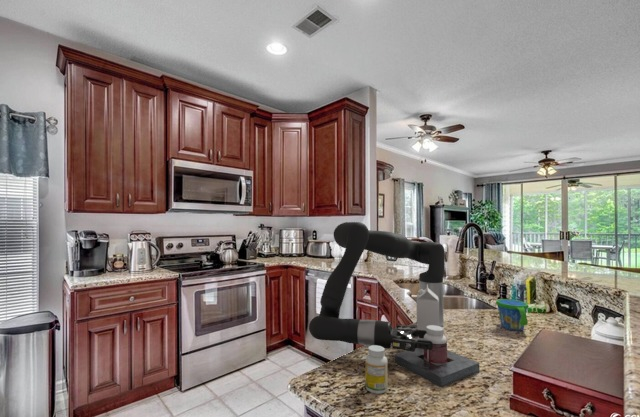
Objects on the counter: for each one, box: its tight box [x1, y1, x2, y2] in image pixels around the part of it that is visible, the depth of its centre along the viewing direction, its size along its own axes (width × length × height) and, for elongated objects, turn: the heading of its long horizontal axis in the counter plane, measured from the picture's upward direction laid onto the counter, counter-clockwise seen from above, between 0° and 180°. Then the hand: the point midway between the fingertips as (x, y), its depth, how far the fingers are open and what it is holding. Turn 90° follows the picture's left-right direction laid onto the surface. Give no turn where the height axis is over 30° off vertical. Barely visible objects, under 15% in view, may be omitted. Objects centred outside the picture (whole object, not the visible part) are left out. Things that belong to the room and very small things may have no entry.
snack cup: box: [495, 298, 529, 332], centre depth 122 cm, size 16×10×10 cm
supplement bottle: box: [364, 345, 389, 395], centre depth 76 cm, size 5×5×10 cm
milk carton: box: [416, 285, 439, 340], centre depth 107 cm, size 7×7×19 cm
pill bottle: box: [424, 325, 448, 366], centre depth 88 cm, size 6×6×11 cm
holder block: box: [393, 348, 480, 388], centre depth 87 cm, size 16×16×2 cm
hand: (432, 340), depth 88 cm, fingers open, 8 cm apart
